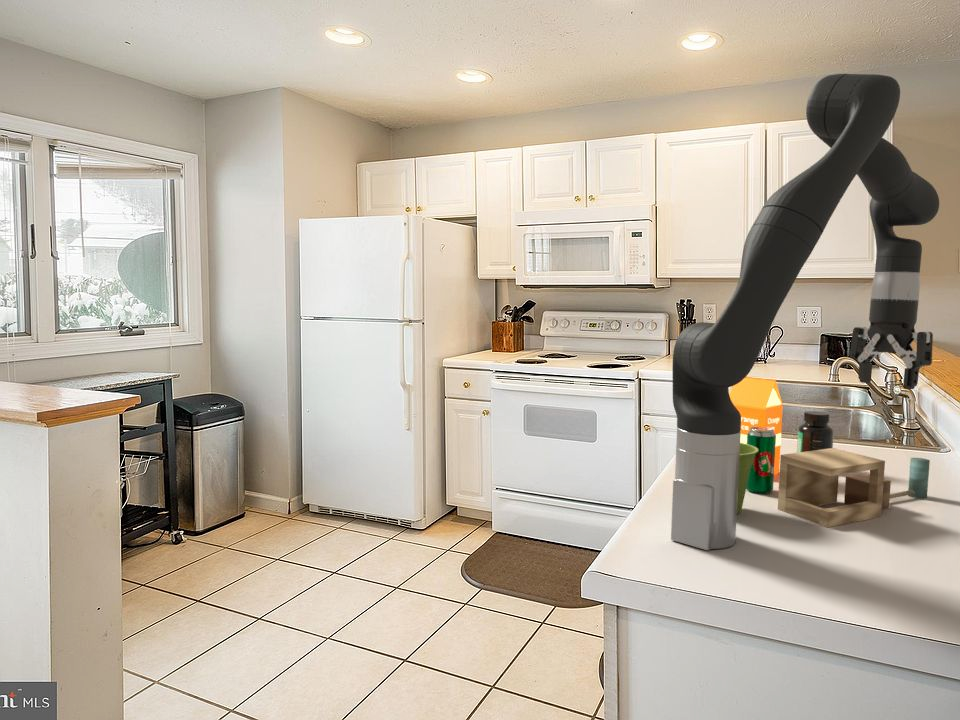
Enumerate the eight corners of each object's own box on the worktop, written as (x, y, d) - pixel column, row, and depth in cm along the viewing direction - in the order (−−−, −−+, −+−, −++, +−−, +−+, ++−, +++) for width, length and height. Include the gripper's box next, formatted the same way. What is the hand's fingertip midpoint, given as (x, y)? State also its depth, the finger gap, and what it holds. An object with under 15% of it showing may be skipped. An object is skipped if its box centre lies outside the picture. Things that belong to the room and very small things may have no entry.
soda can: (749, 485, 135) (752, 425, 134) (776, 490, 132) (779, 428, 131) (740, 491, 131) (743, 429, 130) (768, 496, 128) (771, 432, 127)
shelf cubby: (827, 527, 112) (830, 468, 111) (777, 509, 121) (780, 454, 120) (881, 516, 117) (885, 460, 116) (829, 499, 126) (833, 447, 125)
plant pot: (767, 509, 121) (770, 446, 119) (735, 526, 112) (739, 458, 111) (704, 494, 129) (706, 435, 128) (670, 509, 121) (673, 445, 119)
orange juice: (761, 479, 139) (766, 381, 137) (721, 470, 146) (725, 377, 144) (779, 473, 144) (784, 378, 142) (740, 464, 151) (744, 373, 149)
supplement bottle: (793, 469, 147) (797, 413, 146) (798, 462, 153) (801, 409, 152) (829, 473, 144) (833, 417, 142) (832, 466, 150) (836, 412, 148)
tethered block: (869, 511, 120) (872, 472, 119) (844, 503, 124) (846, 465, 123) (936, 499, 127) (938, 461, 126) (909, 491, 132) (912, 455, 131)
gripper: (947, 299, 121) (938, 390, 123) (872, 297, 134) (864, 380, 135) (919, 298, 118) (910, 392, 120) (845, 296, 131) (838, 381, 132)
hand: (886, 385), depth 127 cm, fingers open, 8 cm apart
